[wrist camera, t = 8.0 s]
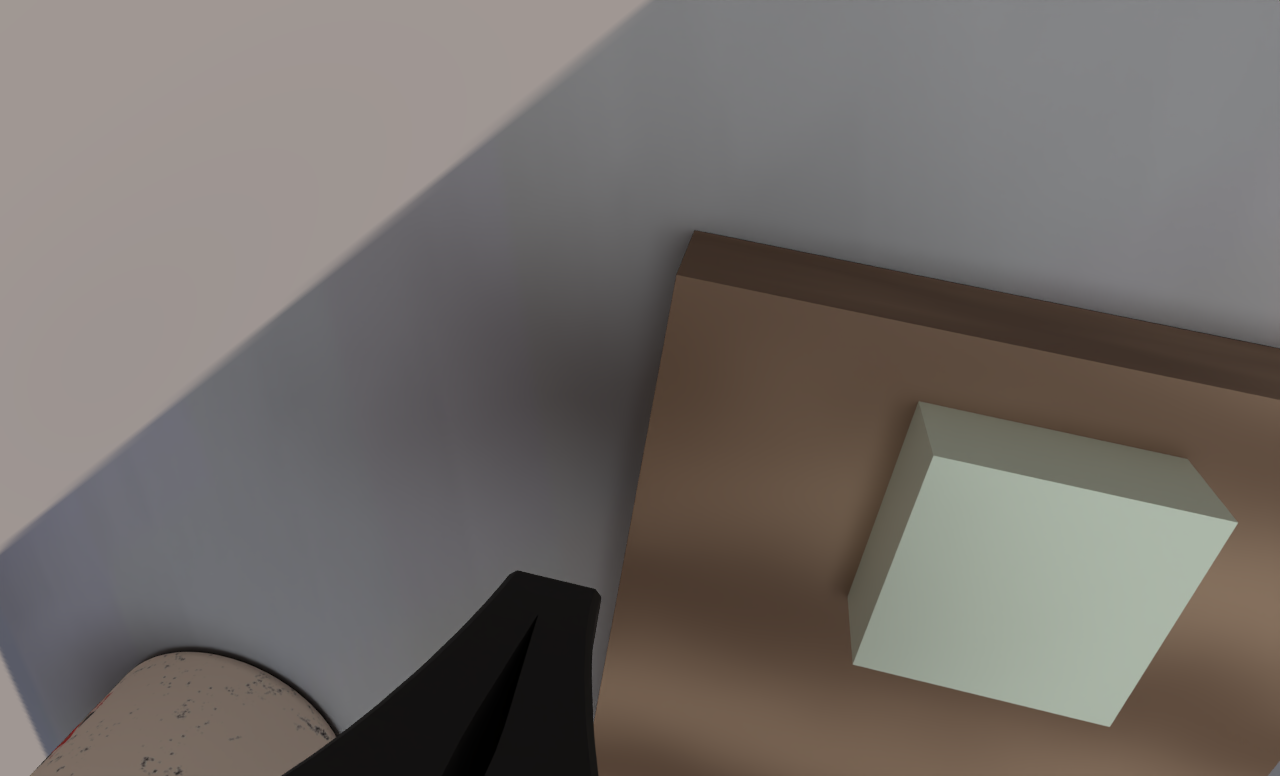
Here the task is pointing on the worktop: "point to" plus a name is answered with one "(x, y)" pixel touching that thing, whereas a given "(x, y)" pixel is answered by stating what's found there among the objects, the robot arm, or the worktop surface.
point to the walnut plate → (851, 498)
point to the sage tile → (1030, 562)
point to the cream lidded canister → (192, 723)
